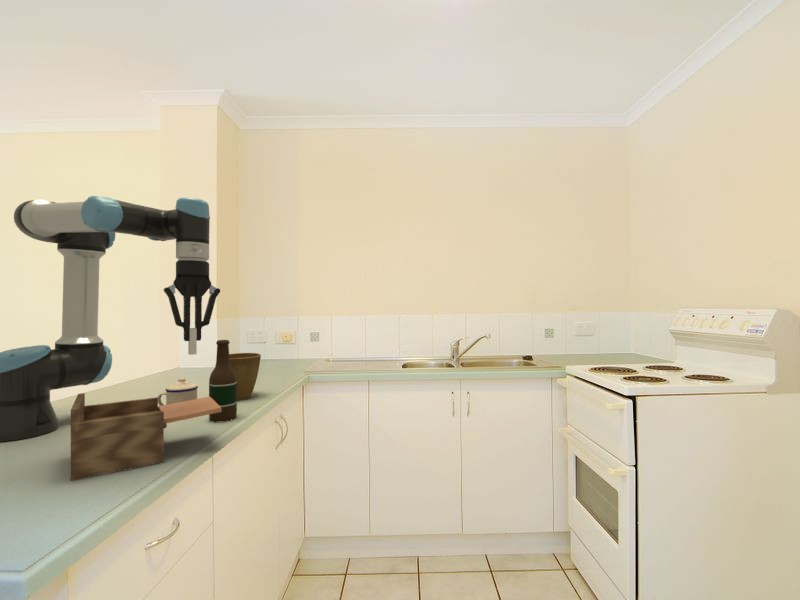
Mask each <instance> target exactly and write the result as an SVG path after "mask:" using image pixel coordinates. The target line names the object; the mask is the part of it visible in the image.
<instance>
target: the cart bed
mask: <svg viewBox="0 0 800 600" xmlns="http://www.w3.org/2000/svg"><path fill="white" fill-rule="evenodd" d="M85 394H86V393H83V392H81V393H77V396H76V398H75V400H74V402H73V404H72V405H71V409H70V481H75V480H81V479H85V478H90V476H91V477H95V476H94V475H96V476H100V475H99V474H101V475H104V474H103V473H106V474H110V473H109V472H111V473H115V472H114V471H116V472H120V471H119V470H121V471H125V470H124V469H127V470H130V469H129V468H132V469H136V468H135V467H137V468H140V466H142V467H145V465H147V466H150V464H152V465H155V464H154V463H157V464H161V463H160V462H162V463H164V462H165V460H164V458H165V457H164V455H165V450H164V449H165V447H164V445H165V442H164V441H165V439H164V438H165V437H164V436H165V435H164V434H165V433H164V431H165V429H166V428H167V426H168V425H167V424H168V423H166V422H164V412H163V411H159V404H158V398H157V397H158V396H156V397H149V398H140V399H132V400H124V401H115V402H105V403H99V404H98V403H97V404H89V405H86V403H85V401H86V399H85V398H86V396H85Z"/></svg>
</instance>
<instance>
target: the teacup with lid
mask: <svg viewBox="0 0 800 600" xmlns="http://www.w3.org/2000/svg"><path fill="white" fill-rule="evenodd" d="M186 379H187V378H185V377H179V378H178V380H177V381H175V382H174V383H173V384H171V385H168V386H166V388H165V392H161V393H159V394H158V395H157V396H156V397H157V398H158V407H159V406H162V405H164V404H163V402H162V400H161V398H162V396H164V395H165V396H166V397H165V400H166V402H165V403H166V404H165V405H168V404H173V403H178V402H184V401H189V400H194V399H198V388H199V386H198V384H197V383H193V382H191V381H188V380H186Z"/></svg>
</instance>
